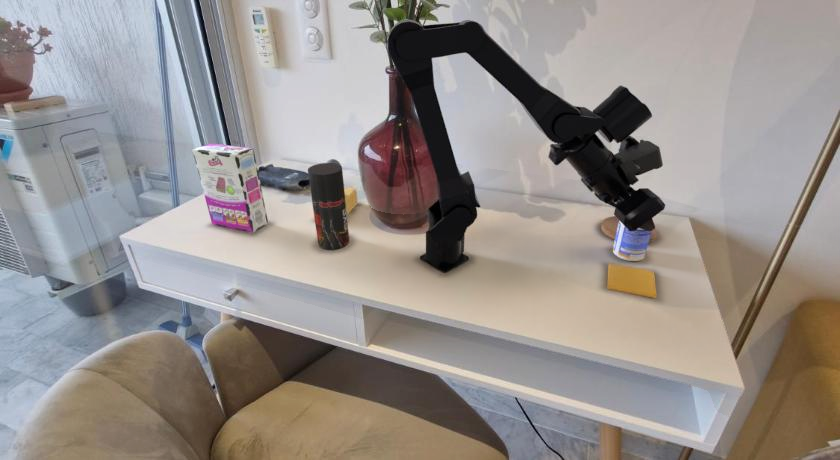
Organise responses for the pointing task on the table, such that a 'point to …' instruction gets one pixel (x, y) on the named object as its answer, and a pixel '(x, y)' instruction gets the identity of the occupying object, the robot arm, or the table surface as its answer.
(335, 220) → the deodorant
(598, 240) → the table surface
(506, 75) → the robot arm
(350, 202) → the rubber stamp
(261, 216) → the candy bar box
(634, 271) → the mustard cloth
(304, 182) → the electronic device
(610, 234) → the cork trivet
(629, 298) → the table surface
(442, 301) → the table surface
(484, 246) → the table surface
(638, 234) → the pill bottle
